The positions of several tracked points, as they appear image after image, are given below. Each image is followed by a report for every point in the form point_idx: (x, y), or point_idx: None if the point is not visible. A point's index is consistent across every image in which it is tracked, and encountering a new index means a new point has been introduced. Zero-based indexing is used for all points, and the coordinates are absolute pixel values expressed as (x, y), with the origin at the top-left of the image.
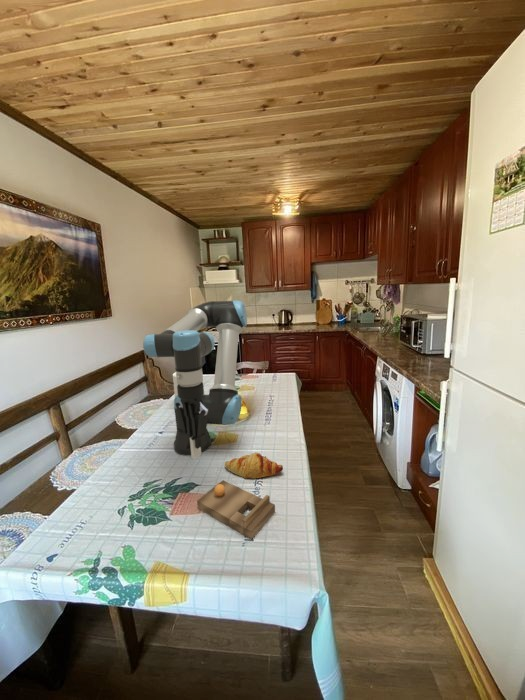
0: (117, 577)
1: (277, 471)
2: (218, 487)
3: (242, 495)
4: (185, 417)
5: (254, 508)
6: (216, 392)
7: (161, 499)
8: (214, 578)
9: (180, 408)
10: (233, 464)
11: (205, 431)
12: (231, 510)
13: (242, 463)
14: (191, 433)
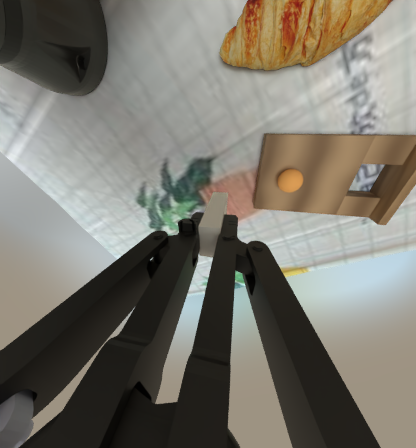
0: (242, 285)
1: None
2: (293, 189)
3: (341, 153)
4: (114, 310)
5: (402, 193)
6: None
7: (189, 213)
8: (338, 263)
9: (39, 408)
10: (261, 52)
11: (275, 266)
12: (331, 198)
13: (300, 30)
14: (194, 256)
